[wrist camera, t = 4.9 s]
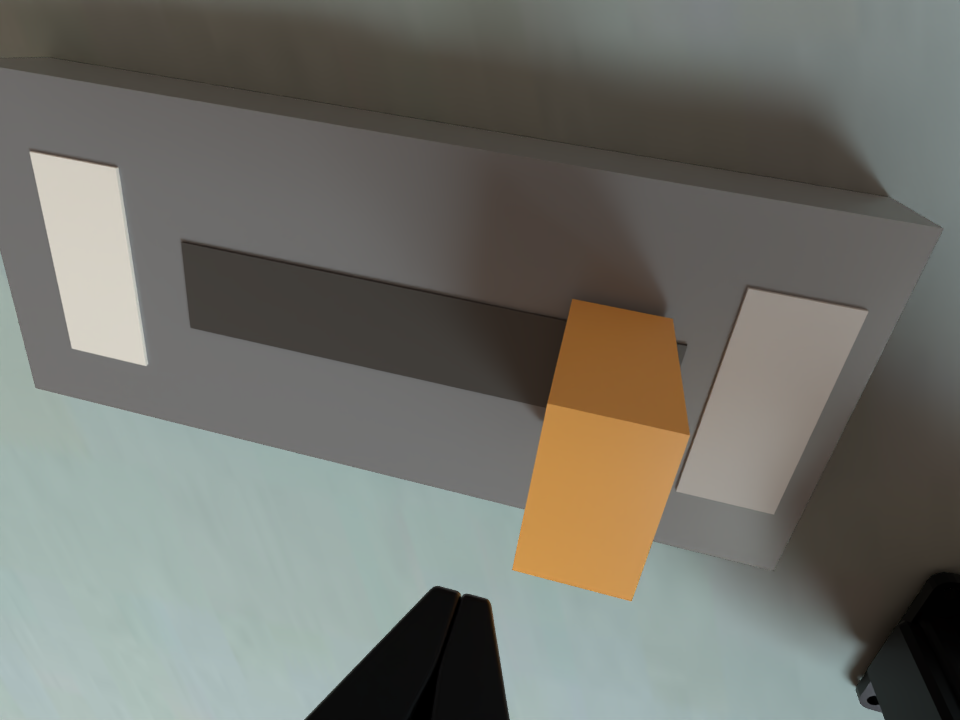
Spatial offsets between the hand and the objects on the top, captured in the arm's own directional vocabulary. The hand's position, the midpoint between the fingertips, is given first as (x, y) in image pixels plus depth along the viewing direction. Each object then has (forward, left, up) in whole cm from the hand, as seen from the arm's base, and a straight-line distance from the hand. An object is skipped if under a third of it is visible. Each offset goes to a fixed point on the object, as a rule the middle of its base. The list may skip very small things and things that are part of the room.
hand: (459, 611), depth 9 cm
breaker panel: (+4, 0, -11) cm, 12 cm away
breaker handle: (-2, 0, -8) cm, 8 cm away
